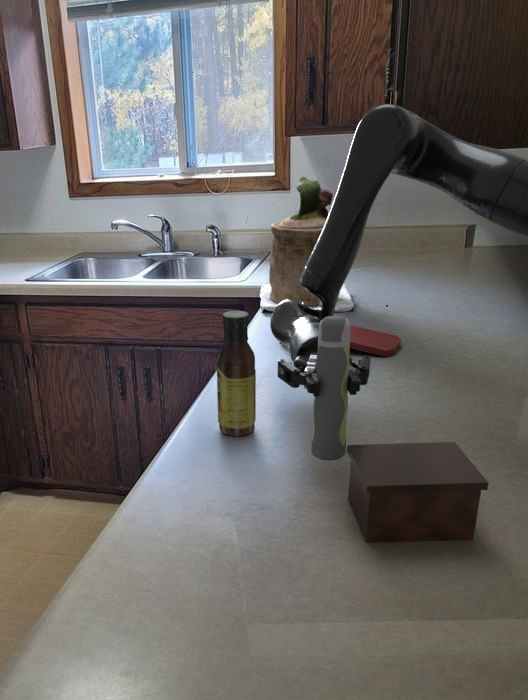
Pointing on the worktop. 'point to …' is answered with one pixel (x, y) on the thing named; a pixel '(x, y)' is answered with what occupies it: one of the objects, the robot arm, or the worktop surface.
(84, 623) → the worktop surface
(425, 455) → the box
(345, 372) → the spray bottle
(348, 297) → the cookie jar
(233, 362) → the sauce bottle
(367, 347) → the red bent slab
